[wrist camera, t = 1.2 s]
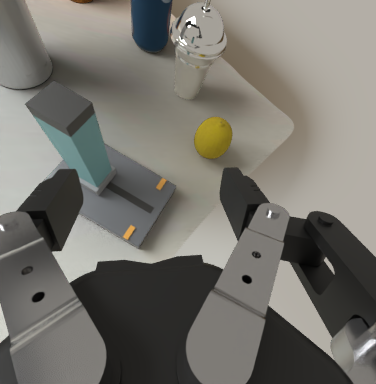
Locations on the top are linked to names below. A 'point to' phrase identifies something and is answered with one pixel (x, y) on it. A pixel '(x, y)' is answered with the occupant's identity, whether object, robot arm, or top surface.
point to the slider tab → (74, 134)
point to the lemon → (213, 137)
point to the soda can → (150, 23)
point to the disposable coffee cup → (82, 1)
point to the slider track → (126, 199)
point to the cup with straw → (196, 46)
